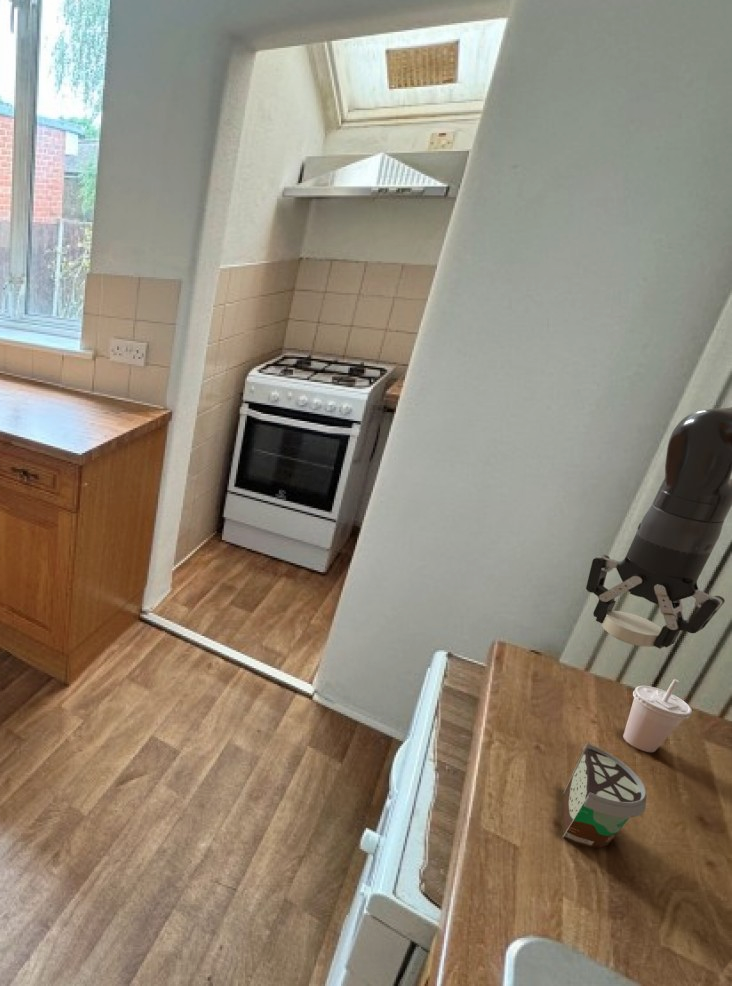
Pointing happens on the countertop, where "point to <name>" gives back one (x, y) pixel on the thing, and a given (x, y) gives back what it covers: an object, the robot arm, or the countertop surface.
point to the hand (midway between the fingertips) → (629, 632)
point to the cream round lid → (631, 628)
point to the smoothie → (654, 716)
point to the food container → (600, 798)
